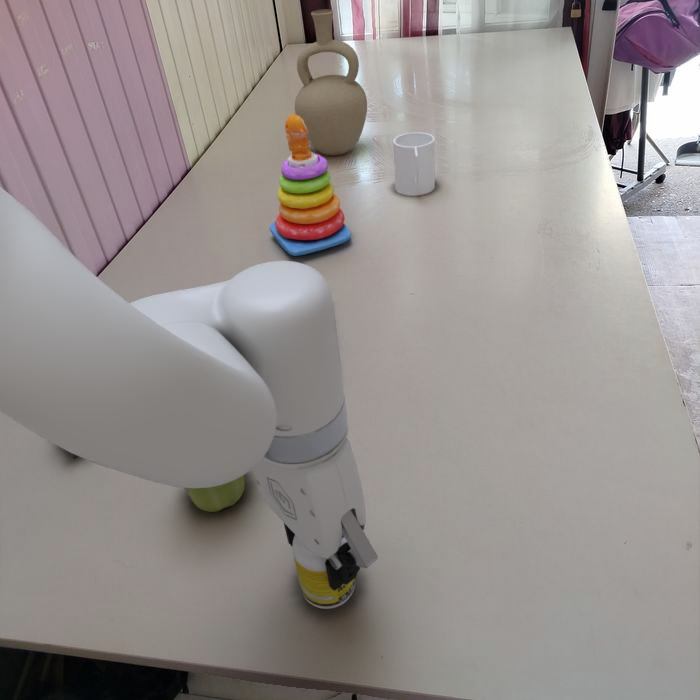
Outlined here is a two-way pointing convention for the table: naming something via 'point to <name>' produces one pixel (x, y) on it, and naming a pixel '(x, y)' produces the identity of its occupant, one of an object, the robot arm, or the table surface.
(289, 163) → the stacking toy
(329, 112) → the vase
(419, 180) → the cup
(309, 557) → the supplement bottle
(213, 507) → the plant pot
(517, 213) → the table surface
